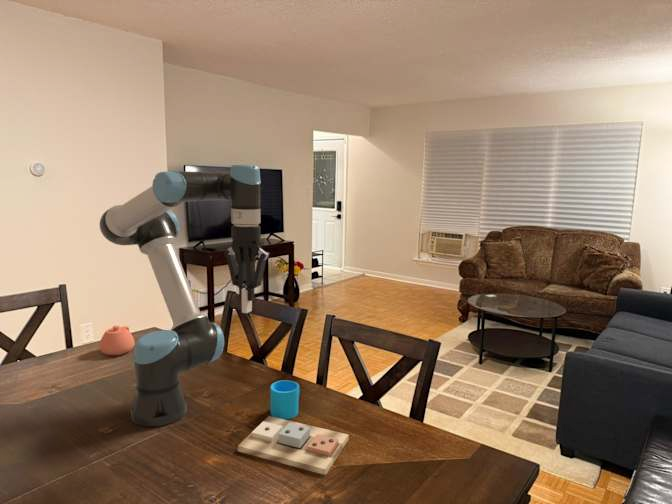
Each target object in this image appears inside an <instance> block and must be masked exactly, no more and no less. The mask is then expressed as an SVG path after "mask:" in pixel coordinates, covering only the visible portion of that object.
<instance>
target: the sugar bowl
mask: <svg viewBox="0 0 672 504" xmlns="http://www.w3.org/2000/svg"><path fill="white" fill-rule="evenodd" d="M135 344H136V343H135V338H134V336H133V334H132V333H131V332H130V328H129V326H127V325H124V326H120V325H113V326H112V327H111V328H108V329H106V330H105V332H104V333H103V335H102V336H101V338H100V341H99V345H98V348H99V350H100V351H101V353H103V354H104V355H108V356H122V355H124V354H127V353H129V352H131V350H132V349H133V348H135Z"/></svg>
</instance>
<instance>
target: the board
mask: <svg viewBox="0 0 672 504" xmlns="http://www.w3.org/2000/svg"><path fill="white" fill-rule="evenodd" d="M263 421H264V422H268V423H273V424H277V425H281V426H283V429H284V428H285V427H286V426H287V425H288V423H289V422H290V423H294V424H298V425H303V426H307V427H310V437H309V438H308V439H307V440H306V442H305V443H304V444H303V445H302V447H301V448H296V447H292V446H288V445H284V444H281V443H279V436H278V437H277V438H276V439H275V440H274V441H273V443H272V442H268V441H264V440H260V439H256V438H252V432H250V433H249V435H248V436H246V437H245V438H244V439H243V440H242V441H241V442H240V443H239V444H238V445H237V452H239V453H243V454H247V455H251V456H253V457H257V458H260V459H264V460H268V461H272V462H276V463H279V464H283V465H287V466H290V467H295V468H297V469H298V468H299V469H301V470H304V471H309V472H313V473H317V474H319V475H324V476H326V475H327V474H328V472H329V470H330V469H331V467H332V466H333V464H334V463H335V461H336V460H337V459H338V456H339V455H340V454H341V452H342V451H343V449H344V448H345V446H346V444H347V442H348V441H349V435H350V434H347V433H343V432H339V431H336V430H331V429H327V428H322V427H318V426H314V425H310V424H305V423H302V422H301V423H300V422H297V421H292V420H290V419H280V418H276V417H273V416H272V415H268V416H267V417H266V418H265V419H264V420H263ZM317 434H319V435H323V436H327V437H331V438H335V439H338V447H337V448H336V450H335V451H334V453H333V454H332V456H331V457H326V456H322V455H319V454H315V453H311V452H307V446H308V445H309V444H310V442H311V441H312V440H313V439H314V437H315V436H316V435H317Z"/></svg>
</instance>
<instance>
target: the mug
mask: <svg viewBox="0 0 672 504" xmlns="http://www.w3.org/2000/svg"><path fill="white" fill-rule="evenodd" d="M269 391H270V392H269V393H270V395H269V396H270V402H269V403H270V416H272V417H276V418H280V419H284V420H290V419H293V418H296V416H297V415H298V414H299V397H300V393H301V386H300V385H299V383H298V382H296V381H293V380H288V379H287V380H285V379H284V380H278V381H275V382H273V383H272V384H271V385H270V390H269Z"/></svg>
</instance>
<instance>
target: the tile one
mask: <svg viewBox="0 0 672 504" xmlns="http://www.w3.org/2000/svg"><path fill="white" fill-rule="evenodd" d="M282 430H283V426H281V425H277V424H273V423H268V422H264V420H263V421H262V422H261V423H260V424H259V425H258V426H256V427H255V428H254V430H252V431H251V433H252V438H256V439H260V440H264V441H268V442H272V443H273V441H274V440H275V439H276V438H277V437H278V436H279V433H280V432H281V431H282Z"/></svg>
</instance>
